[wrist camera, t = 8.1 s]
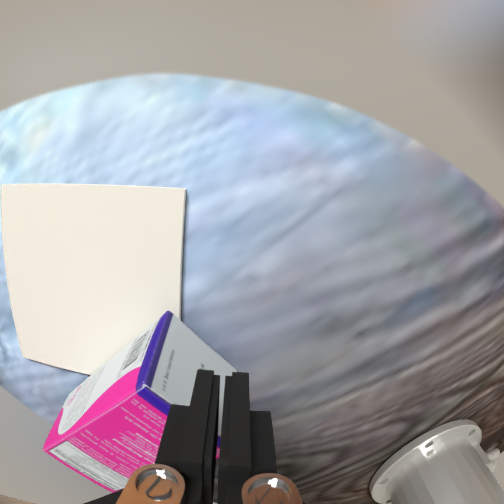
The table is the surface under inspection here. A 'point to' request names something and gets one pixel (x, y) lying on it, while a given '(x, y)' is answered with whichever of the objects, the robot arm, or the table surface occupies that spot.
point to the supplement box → (132, 403)
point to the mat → (90, 267)
